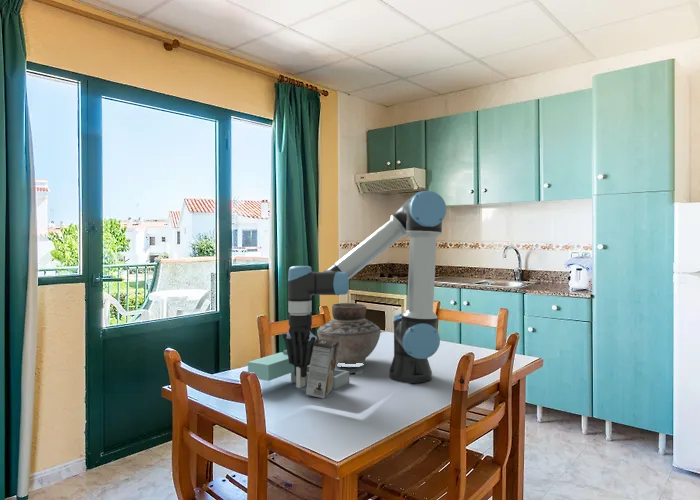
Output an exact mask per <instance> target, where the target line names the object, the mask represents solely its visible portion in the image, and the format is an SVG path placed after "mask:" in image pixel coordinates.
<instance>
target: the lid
mask: <svg viewBox="0 0 700 500" xmlns="http://www.w3.org/2000/svg"><path fill="white" fill-rule="evenodd" d="M282 351H283V352H282ZM282 351H281V352H277V353H274V354H270V355H267V356H263V357H261V358H256V359H253V360H250V361H248V362H247V373H248V372H254V373H255V374H256V375H257V376H258V378H259V379H258V380H260V381H261V380H262V381H268V382H269V381H272V380H276V379H278V378H280V377H283V376H286V375H289V374H291V373H292V372H295V367H294V365H293V364H290V363H289V359H288V354H287V349H285V350H282ZM292 360H293V359H292Z"/></svg>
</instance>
